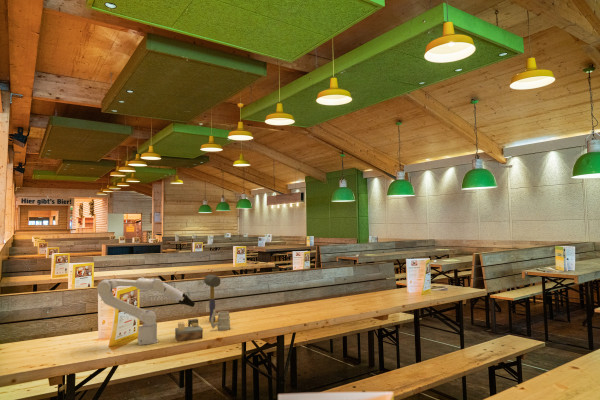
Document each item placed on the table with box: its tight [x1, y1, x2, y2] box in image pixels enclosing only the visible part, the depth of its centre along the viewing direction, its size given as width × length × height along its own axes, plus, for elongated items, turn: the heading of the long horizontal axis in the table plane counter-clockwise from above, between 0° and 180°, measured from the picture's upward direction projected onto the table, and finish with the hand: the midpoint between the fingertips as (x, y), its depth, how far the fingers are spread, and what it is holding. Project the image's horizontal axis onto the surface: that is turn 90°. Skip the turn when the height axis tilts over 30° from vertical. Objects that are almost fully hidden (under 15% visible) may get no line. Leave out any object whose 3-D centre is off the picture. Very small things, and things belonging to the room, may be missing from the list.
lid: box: [174, 321, 203, 334], centre depth 211 cm, size 13×10×4 cm
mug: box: [209, 309, 231, 331], centre depth 229 cm, size 8×12×12 cm, turn 116°
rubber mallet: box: [204, 274, 221, 323], centre depth 249 cm, size 12×8×30 cm, turn 34°
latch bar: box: [190, 321, 199, 327], centre depth 219 cm, size 3×10×1 cm, turn 25°
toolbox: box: [174, 318, 204, 343], centre depth 214 cm, size 13×16×8 cm
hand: (193, 304), depth 213 cm, fingers open, 7 cm apart
